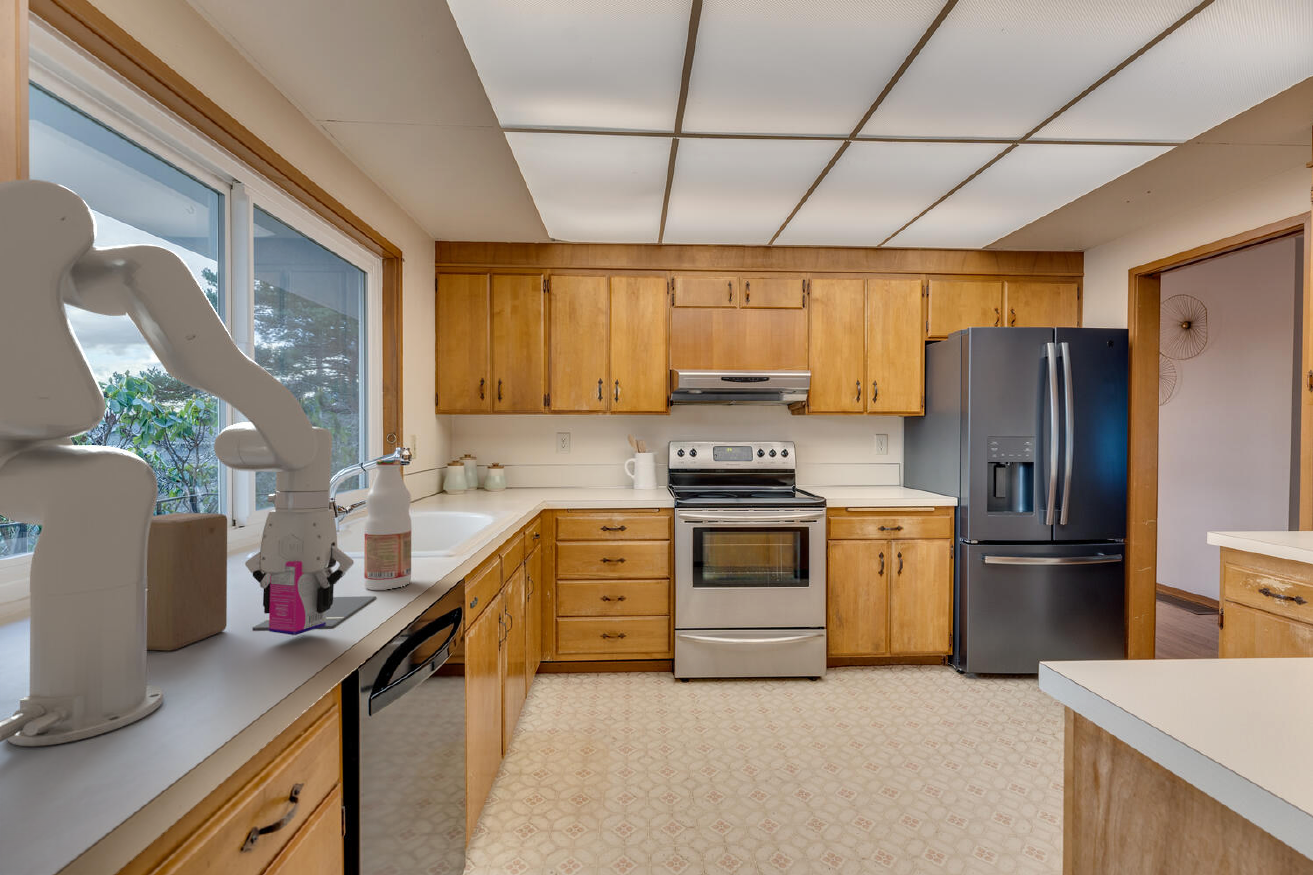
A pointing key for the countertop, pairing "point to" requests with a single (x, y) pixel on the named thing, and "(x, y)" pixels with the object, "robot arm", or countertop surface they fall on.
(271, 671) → the countertop surface
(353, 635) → the countertop surface
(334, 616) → the mat
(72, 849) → the countertop surface
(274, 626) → the supplement box
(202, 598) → the wooden block
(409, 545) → the fruit juice
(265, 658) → the countertop surface
